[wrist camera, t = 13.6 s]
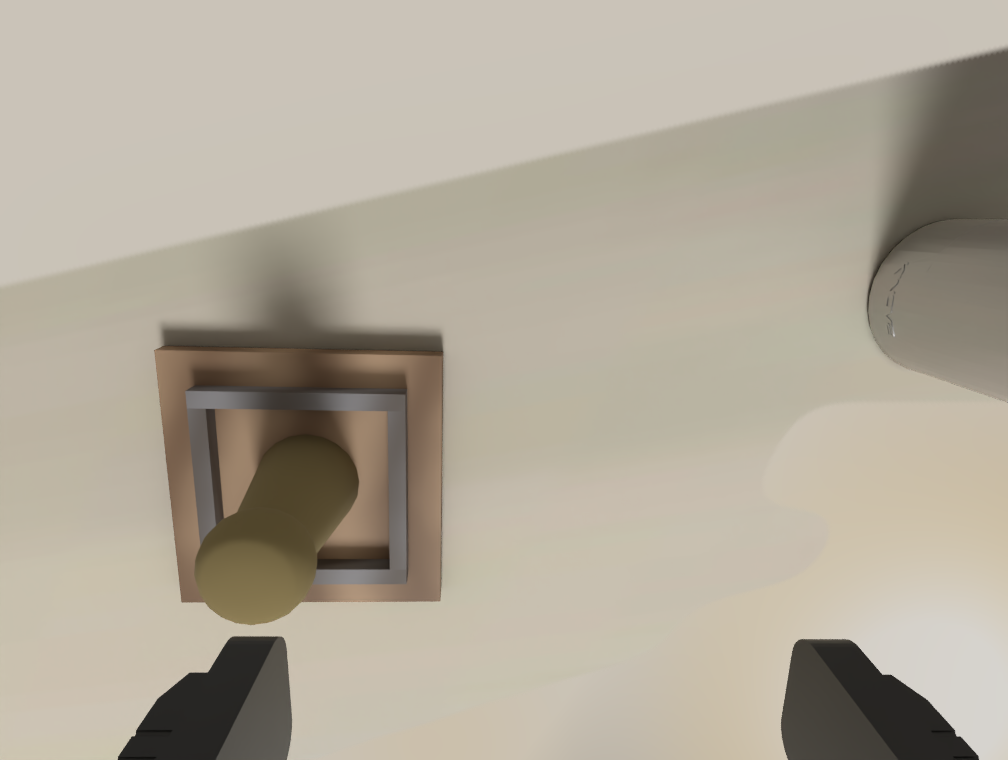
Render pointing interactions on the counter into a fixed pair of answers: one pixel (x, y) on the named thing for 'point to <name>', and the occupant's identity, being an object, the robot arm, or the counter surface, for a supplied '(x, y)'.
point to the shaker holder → (319, 412)
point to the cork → (277, 531)
